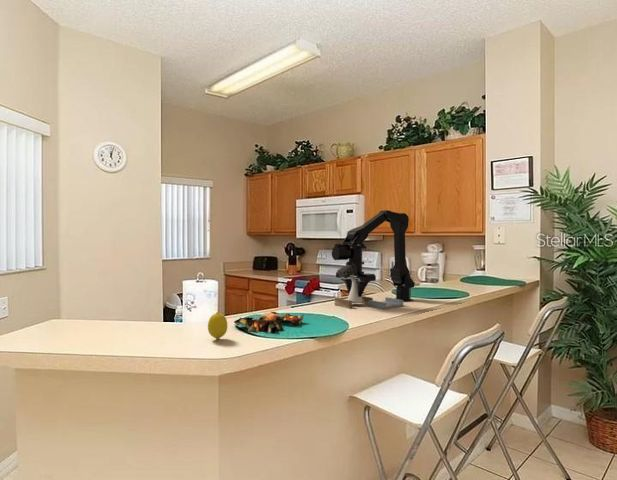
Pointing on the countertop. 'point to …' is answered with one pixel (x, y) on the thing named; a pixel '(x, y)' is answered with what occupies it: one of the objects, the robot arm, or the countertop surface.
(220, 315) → the lemon
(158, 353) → the countertop surface
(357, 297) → the flask
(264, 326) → the food
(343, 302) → the channel
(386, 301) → the cradle
